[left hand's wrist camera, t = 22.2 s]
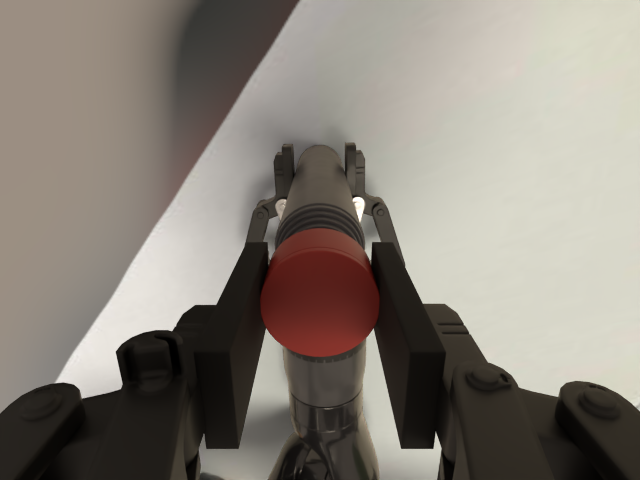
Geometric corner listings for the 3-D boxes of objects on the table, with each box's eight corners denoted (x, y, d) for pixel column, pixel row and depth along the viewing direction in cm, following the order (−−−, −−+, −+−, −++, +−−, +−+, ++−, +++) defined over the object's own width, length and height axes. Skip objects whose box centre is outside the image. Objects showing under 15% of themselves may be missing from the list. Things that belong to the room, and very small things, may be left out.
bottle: (336, 192, 37) (364, 355, 14) (294, 184, 37) (252, 336, 14) (346, 149, 36) (393, 253, 13) (302, 141, 36) (269, 230, 12)
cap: (265, 317, 15) (256, 352, 13) (270, 223, 14) (261, 245, 12) (364, 325, 15) (371, 361, 13) (379, 232, 14) (389, 256, 12)
